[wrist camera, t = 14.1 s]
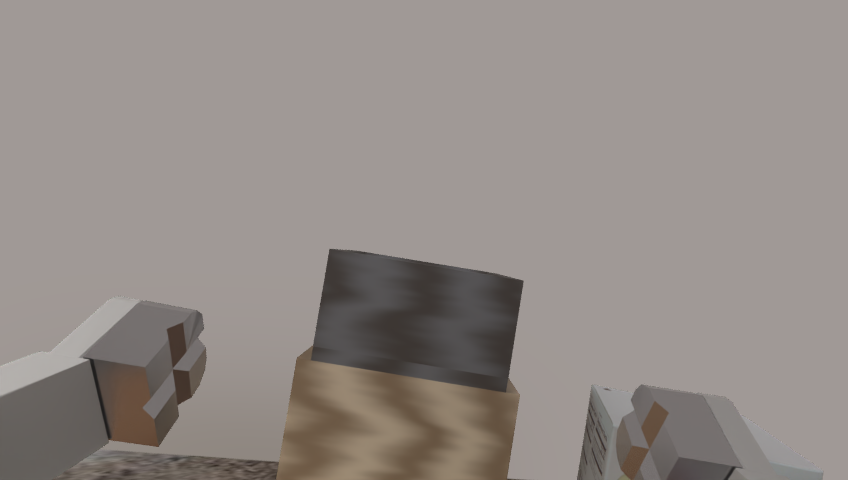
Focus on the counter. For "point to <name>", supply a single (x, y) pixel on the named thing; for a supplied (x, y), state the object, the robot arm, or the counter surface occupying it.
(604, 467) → the supplement box
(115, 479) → the counter surface
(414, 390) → the tub stand
